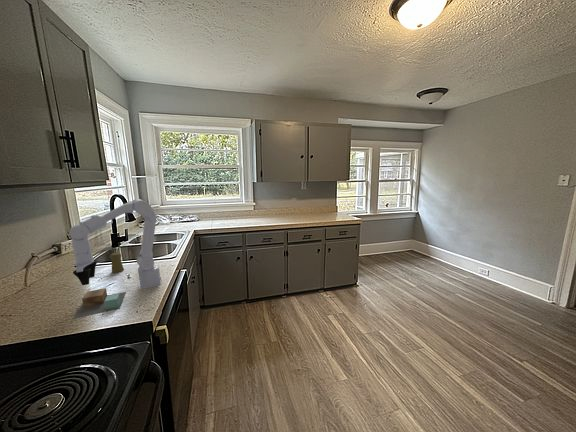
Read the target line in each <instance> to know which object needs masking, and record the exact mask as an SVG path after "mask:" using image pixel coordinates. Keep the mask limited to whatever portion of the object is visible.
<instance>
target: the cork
mask: <svg viewBox="0 0 576 432" xmlns="http://www.w3.org/2000/svg"><path fill="white" fill-rule="evenodd" d="M121 258H122V254H121V253H120V252H114V253H111V254H110V255H109V259H110V260H111V273H112V274H119V272H120V273H122V272H125V271H124V270H125V268H124V266H123V263H122V259H121Z"/></svg>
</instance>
